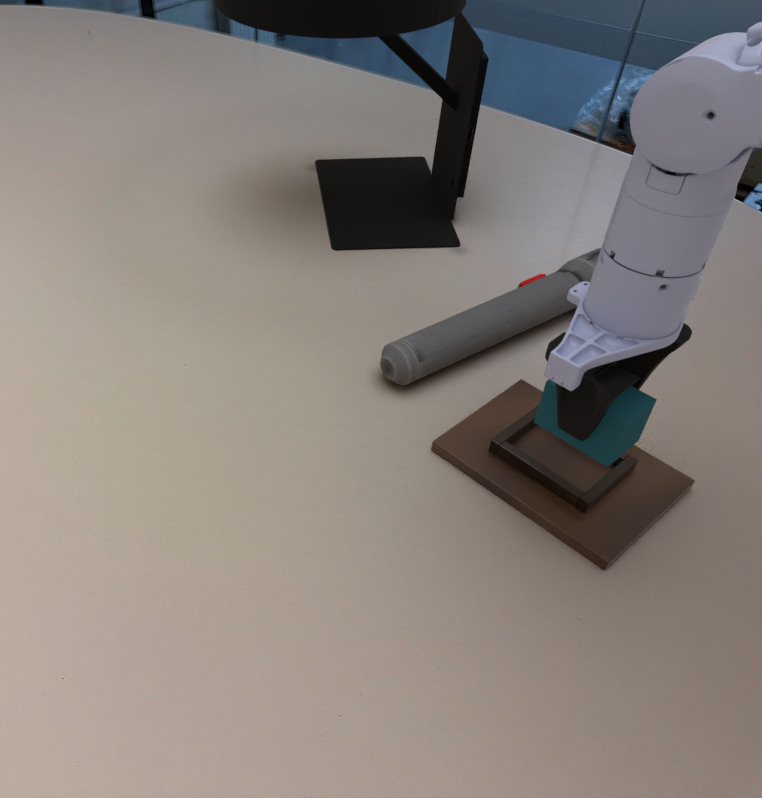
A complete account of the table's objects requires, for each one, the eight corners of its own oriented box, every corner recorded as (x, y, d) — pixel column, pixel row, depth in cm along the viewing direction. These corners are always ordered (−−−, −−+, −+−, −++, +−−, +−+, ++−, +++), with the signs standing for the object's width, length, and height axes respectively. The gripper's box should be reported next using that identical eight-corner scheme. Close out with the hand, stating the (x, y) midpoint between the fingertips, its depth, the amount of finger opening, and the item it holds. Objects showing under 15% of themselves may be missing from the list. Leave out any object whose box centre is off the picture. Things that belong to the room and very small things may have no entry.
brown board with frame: (691, 488, 63) (701, 469, 62) (604, 570, 58) (613, 552, 56) (518, 387, 73) (524, 368, 71) (430, 449, 67) (434, 430, 66)
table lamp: (477, 254, 89) (570, -194, 62) (222, 261, 89) (204, -181, 63) (432, 151, 108) (488, -226, 81) (221, 158, 108) (208, -216, 82)
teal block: (638, 440, 58) (657, 399, 55) (607, 467, 56) (625, 426, 53) (564, 398, 61) (578, 357, 58) (533, 422, 59) (546, 381, 57)
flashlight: (391, 403, 74) (363, 357, 75) (608, 302, 83) (580, 264, 85) (413, 380, 69) (383, 332, 70) (639, 277, 79) (609, 236, 80)
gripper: (654, 188, 54) (597, 348, 63) (523, 268, 47) (480, 434, 57) (762, 229, 50) (684, 393, 59) (635, 323, 43) (570, 492, 52)
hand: (591, 417), depth 58 cm, fingers closed on teal block, 4 cm apart
